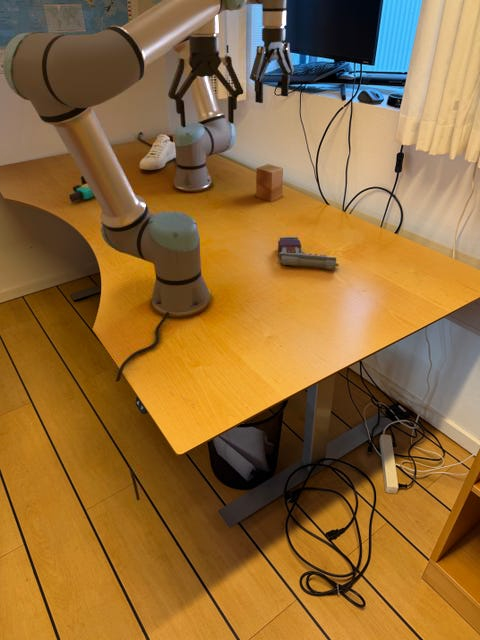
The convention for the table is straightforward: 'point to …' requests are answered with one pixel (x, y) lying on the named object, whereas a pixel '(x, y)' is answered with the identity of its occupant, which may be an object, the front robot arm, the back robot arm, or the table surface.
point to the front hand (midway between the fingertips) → (207, 124)
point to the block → (269, 182)
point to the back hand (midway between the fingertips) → (272, 99)
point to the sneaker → (159, 153)
